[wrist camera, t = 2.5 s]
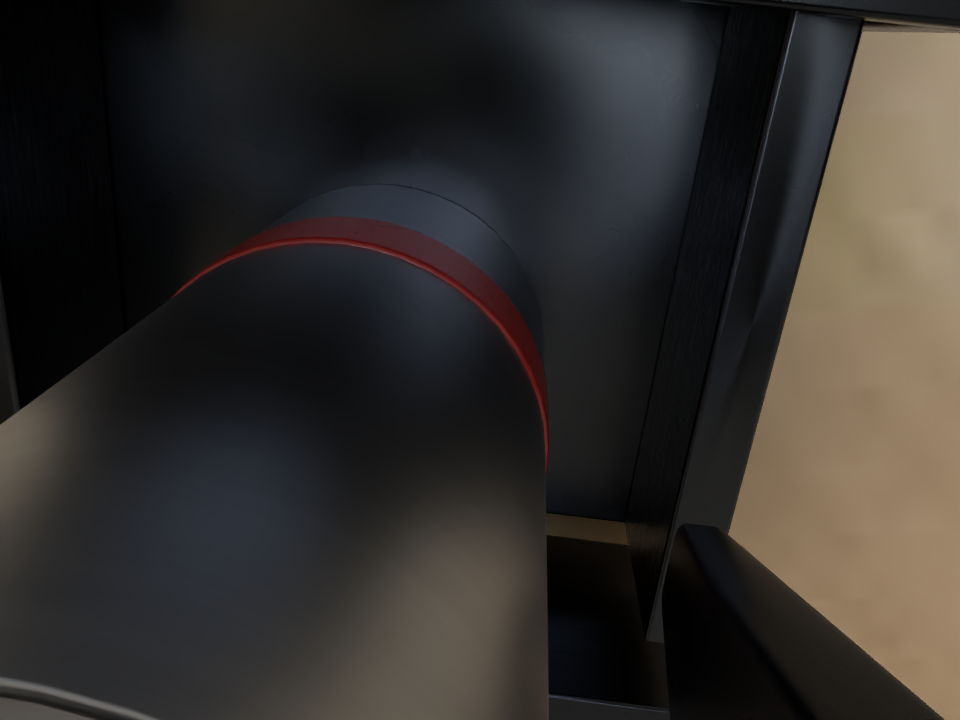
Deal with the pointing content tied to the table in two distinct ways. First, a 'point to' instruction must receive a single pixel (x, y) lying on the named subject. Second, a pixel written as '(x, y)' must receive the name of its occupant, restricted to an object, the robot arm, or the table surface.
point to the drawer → (476, 188)
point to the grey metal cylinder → (293, 487)
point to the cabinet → (868, 12)
